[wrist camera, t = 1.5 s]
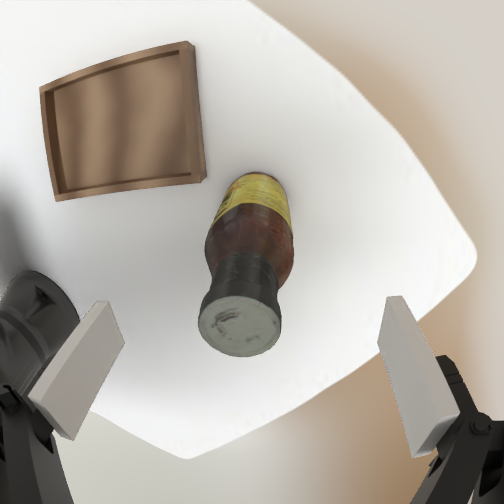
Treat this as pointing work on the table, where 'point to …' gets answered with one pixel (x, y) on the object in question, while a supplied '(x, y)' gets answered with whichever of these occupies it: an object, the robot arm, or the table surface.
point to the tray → (125, 124)
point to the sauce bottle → (247, 267)
